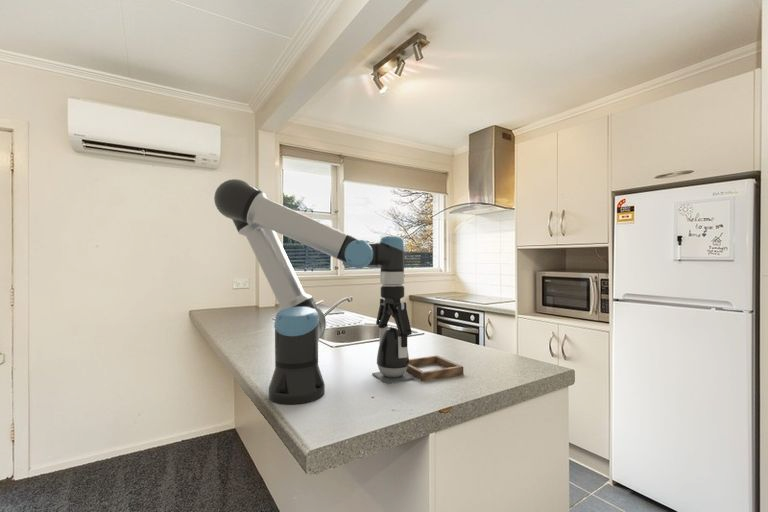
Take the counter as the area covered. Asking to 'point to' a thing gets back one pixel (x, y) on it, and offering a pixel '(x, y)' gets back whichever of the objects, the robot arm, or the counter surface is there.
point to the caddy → (447, 371)
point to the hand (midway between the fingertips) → (392, 352)
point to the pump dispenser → (391, 355)
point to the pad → (393, 378)
